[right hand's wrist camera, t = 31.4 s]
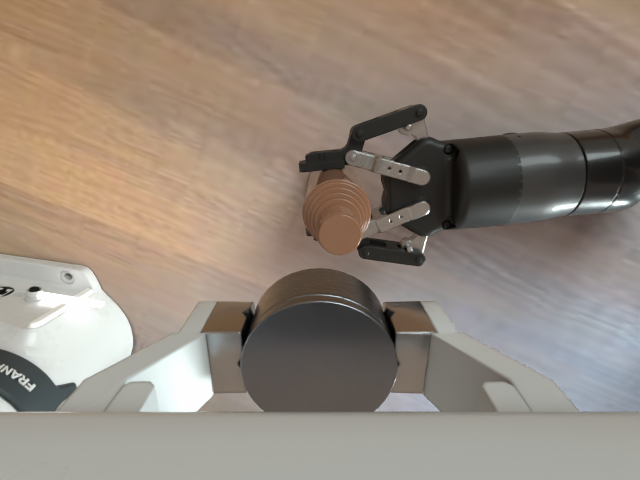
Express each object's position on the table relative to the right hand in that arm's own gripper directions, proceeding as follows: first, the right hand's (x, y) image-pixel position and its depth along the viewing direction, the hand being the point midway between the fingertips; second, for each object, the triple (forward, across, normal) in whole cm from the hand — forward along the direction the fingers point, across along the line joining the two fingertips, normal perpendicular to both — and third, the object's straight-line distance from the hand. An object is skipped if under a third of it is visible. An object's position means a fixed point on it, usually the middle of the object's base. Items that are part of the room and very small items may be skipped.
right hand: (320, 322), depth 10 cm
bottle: (+28, +1, -1) cm, 28 cm away
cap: (-2, 0, 0) cm, 2 cm away
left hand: (+21, -1, -1) cm, 21 cm away
